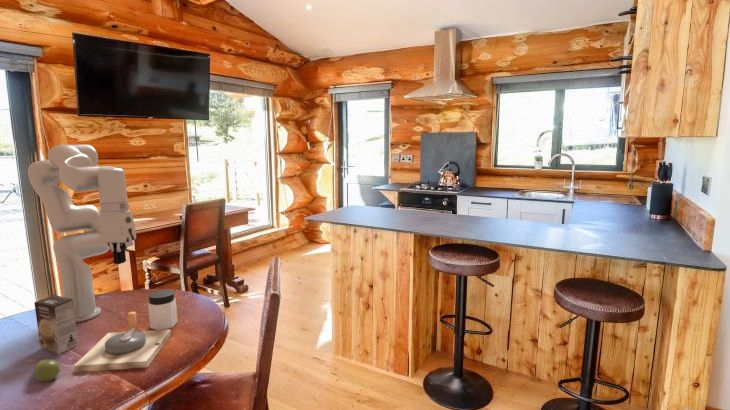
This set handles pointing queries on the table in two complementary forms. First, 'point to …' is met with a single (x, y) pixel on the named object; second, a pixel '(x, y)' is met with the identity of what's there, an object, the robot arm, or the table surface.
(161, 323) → the jar
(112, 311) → the table surface
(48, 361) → the pear
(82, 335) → the table surface
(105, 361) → the board
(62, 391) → the table surface
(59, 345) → the coffee box
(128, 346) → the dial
